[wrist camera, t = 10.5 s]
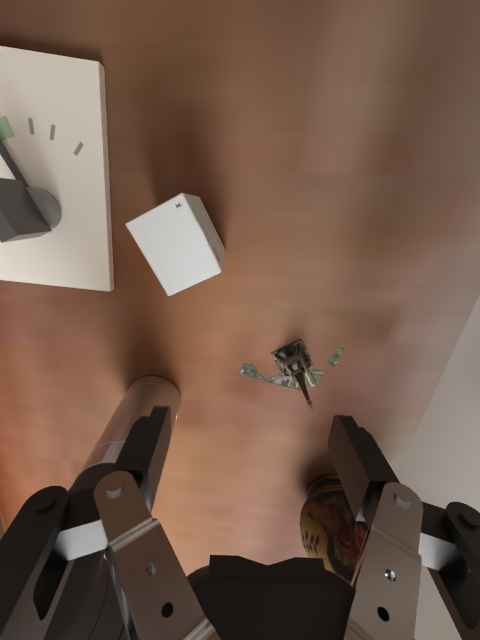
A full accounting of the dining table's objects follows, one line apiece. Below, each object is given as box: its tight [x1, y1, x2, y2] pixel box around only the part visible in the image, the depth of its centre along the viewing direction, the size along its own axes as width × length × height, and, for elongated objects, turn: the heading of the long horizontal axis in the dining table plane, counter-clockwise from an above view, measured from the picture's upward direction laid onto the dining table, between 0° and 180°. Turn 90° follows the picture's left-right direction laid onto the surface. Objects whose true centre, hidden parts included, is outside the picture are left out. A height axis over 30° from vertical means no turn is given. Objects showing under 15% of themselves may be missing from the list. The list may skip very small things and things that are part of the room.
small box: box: [125, 193, 225, 296], centre depth 33 cm, size 8×6×13 cm
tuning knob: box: [0, 139, 61, 243], centre depth 31 cm, size 12×5×8 cm, turn 21°
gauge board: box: [0, 46, 114, 292], centre depth 35 cm, size 26×16×2 cm, turn 173°
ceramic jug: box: [300, 474, 415, 640], centre depth 45 cm, size 17×15×30 cm
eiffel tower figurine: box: [240, 339, 343, 411], centre depth 41 cm, size 15×10×13 cm
